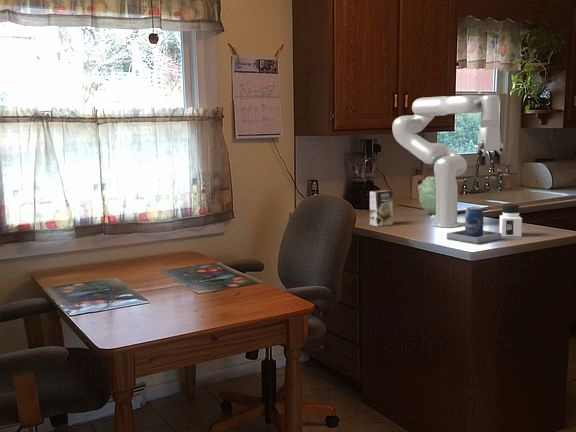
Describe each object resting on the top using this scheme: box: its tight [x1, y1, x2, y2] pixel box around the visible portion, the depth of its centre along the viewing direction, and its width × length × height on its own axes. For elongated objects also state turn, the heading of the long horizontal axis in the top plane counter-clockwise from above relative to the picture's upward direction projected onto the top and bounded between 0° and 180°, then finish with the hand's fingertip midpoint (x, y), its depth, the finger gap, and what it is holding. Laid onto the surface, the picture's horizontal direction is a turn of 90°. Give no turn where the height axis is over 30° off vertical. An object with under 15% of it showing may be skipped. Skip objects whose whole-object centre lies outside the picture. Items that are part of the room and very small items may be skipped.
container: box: [498, 202, 523, 237], centre depth 253 cm, size 8×8×13 cm
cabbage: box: [417, 175, 436, 216], centre depth 313 cm, size 16×19×20 cm
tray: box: [446, 229, 503, 245], centre depth 247 cm, size 15×15×2 cm
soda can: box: [464, 206, 484, 237], centre depth 247 cm, size 7×7×12 cm
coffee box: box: [369, 189, 394, 227], centre depth 289 cm, size 9×6×16 cm
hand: (489, 164), depth 264 cm, fingers open, 9 cm apart
